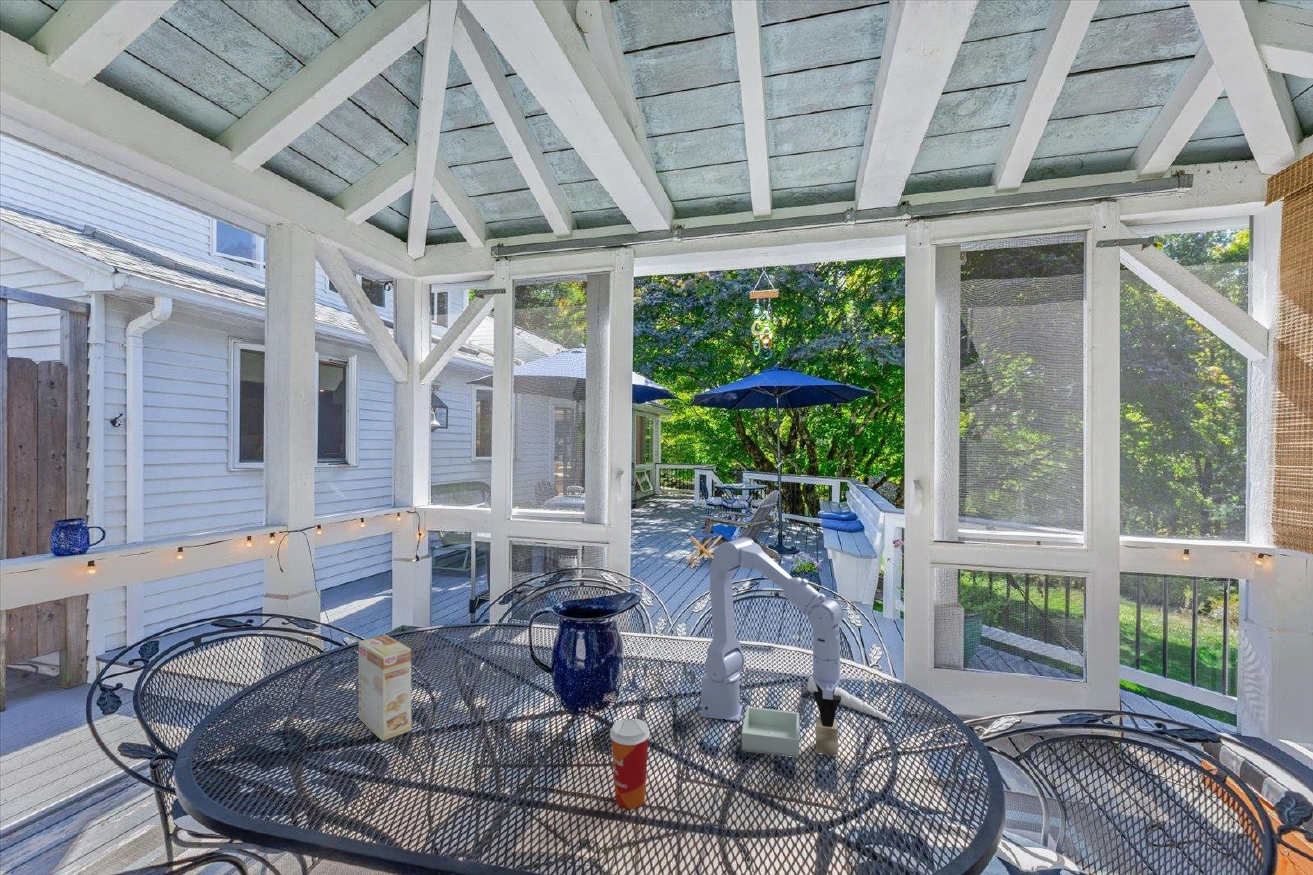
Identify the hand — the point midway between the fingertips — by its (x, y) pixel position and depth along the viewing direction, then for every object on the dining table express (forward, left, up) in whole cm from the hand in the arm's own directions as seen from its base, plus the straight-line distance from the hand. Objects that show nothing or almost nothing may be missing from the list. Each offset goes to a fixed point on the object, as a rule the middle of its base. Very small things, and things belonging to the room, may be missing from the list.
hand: (826, 717), depth 124 cm
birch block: (0, 0, -7) cm, 7 cm away
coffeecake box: (-103, -15, -7) cm, 104 cm away
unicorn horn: (+6, +23, -8) cm, 25 cm away
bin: (-12, +1, -7) cm, 14 cm away
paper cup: (-37, -27, -7) cm, 46 cm away
